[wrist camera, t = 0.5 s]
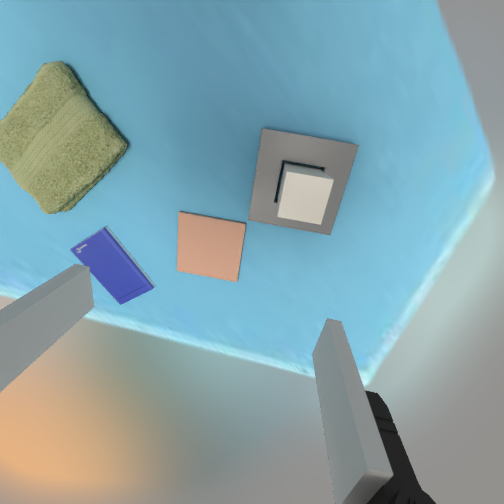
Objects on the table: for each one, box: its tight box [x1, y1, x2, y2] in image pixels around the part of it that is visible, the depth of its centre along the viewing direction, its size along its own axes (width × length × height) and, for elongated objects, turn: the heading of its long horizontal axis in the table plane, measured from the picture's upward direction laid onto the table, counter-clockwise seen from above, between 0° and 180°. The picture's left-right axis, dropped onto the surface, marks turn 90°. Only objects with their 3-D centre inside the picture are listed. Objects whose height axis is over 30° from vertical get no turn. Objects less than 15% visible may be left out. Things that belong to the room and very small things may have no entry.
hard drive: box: [70, 226, 156, 305], centre depth 42 cm, size 2×8×12 cm
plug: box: [277, 162, 334, 225], centre depth 29 cm, size 4×4×10 cm
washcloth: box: [0, 61, 127, 214], centre depth 33 cm, size 13×18×3 cm
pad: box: [177, 211, 246, 282], centre depth 38 cm, size 10×10×1 cm
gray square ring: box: [248, 128, 359, 235], centre depth 32 cm, size 11×11×2 cm
